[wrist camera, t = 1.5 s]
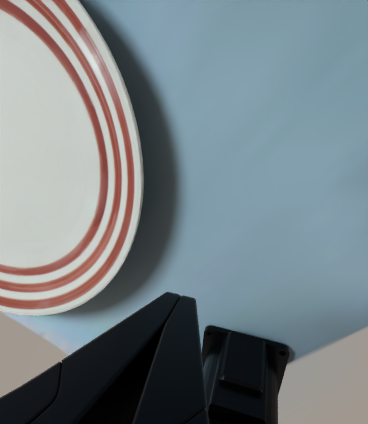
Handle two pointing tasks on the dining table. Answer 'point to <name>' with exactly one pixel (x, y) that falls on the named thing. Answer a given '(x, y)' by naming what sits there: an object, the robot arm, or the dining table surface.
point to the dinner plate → (62, 159)
